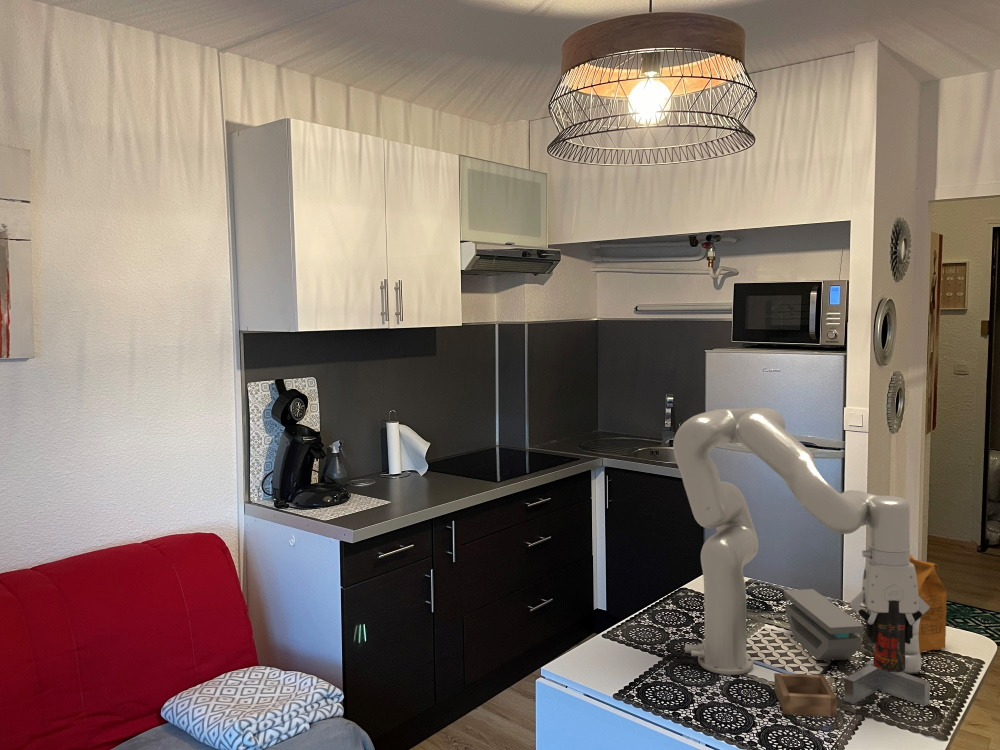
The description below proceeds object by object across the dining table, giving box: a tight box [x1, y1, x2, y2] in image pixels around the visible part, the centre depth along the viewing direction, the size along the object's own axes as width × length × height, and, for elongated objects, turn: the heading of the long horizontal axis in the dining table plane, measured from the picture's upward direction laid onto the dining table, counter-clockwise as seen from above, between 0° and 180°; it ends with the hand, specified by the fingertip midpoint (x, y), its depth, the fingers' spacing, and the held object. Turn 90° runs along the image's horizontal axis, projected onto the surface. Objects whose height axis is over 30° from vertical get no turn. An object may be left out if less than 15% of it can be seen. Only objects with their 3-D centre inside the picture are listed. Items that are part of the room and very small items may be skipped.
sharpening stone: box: [783, 588, 865, 661], centre depth 194 cm, size 25×8×11 cm, turn 4°
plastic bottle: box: [902, 617, 923, 675], centre depth 181 cm, size 6×7×20 cm
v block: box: [843, 659, 931, 706], centre depth 172 cm, size 17×11×5 cm
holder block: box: [773, 672, 838, 718], centre depth 168 cm, size 10×10×4 cm
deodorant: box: [873, 601, 905, 672], centre depth 165 cm, size 6×6×15 cm
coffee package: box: [910, 553, 948, 654], centre depth 196 cm, size 10×12×22 cm
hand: (889, 640), depth 166 cm, fingers closed on deodorant, 5 cm apart
